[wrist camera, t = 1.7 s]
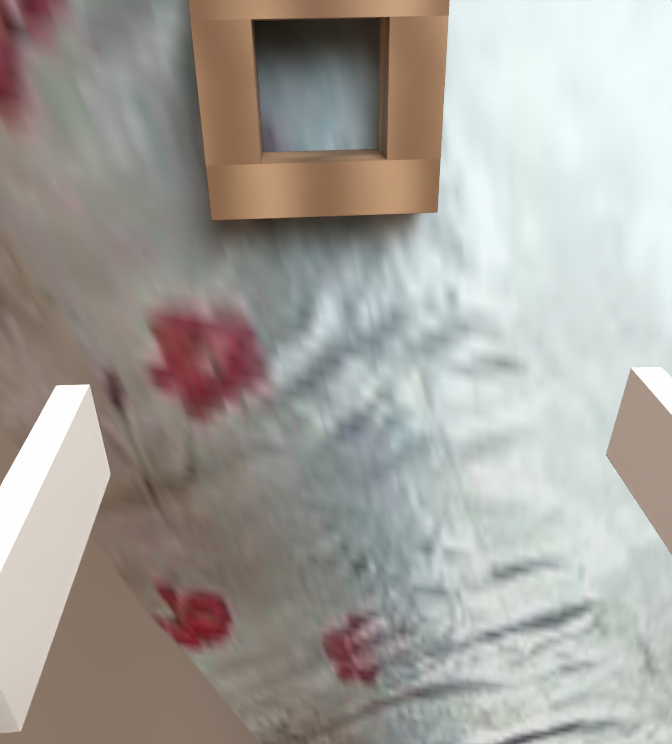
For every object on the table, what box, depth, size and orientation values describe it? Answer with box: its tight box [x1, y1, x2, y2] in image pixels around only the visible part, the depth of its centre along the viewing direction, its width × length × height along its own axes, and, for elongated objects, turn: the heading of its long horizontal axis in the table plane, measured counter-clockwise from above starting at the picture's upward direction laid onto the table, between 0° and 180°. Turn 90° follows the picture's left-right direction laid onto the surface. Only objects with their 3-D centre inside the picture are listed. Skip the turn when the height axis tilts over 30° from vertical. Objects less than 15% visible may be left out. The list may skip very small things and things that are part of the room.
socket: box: [188, 0, 449, 220], centre depth 36 cm, size 13×13×4 cm
